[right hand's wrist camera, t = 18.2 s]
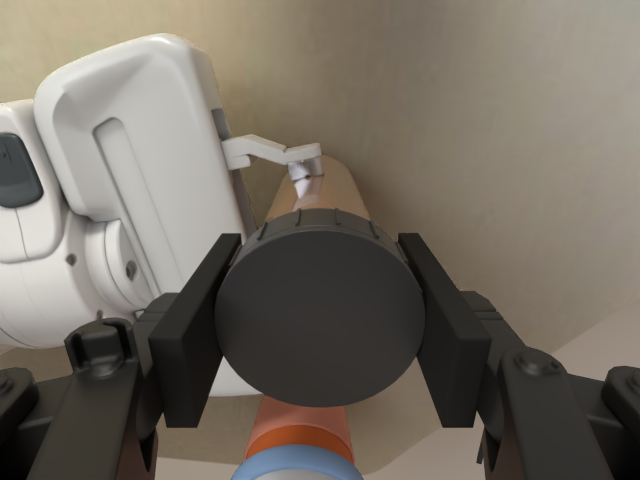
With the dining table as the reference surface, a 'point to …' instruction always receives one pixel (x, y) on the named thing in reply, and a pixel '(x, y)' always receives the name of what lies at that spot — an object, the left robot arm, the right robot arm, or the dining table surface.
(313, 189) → the jar
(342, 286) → the lid
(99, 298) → the left robot arm
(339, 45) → the dining table surface
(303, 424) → the cup with straw
